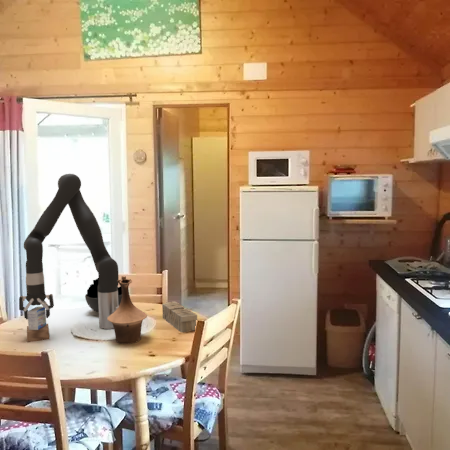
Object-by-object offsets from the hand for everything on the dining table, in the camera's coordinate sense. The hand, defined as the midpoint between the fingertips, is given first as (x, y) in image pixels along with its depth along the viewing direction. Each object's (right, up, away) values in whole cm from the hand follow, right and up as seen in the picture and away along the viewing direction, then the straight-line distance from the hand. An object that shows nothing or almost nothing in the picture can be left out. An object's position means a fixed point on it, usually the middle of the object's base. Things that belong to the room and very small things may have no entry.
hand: (37, 318), depth 217 cm
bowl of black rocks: (+21, -5, +40) cm, 45 cm away
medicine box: (0, -4, 0) cm, 4 cm away
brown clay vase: (+41, -9, -4) cm, 42 cm away
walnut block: (0, -9, +1) cm, 9 cm away
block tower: (+61, -6, +18) cm, 64 cm away
